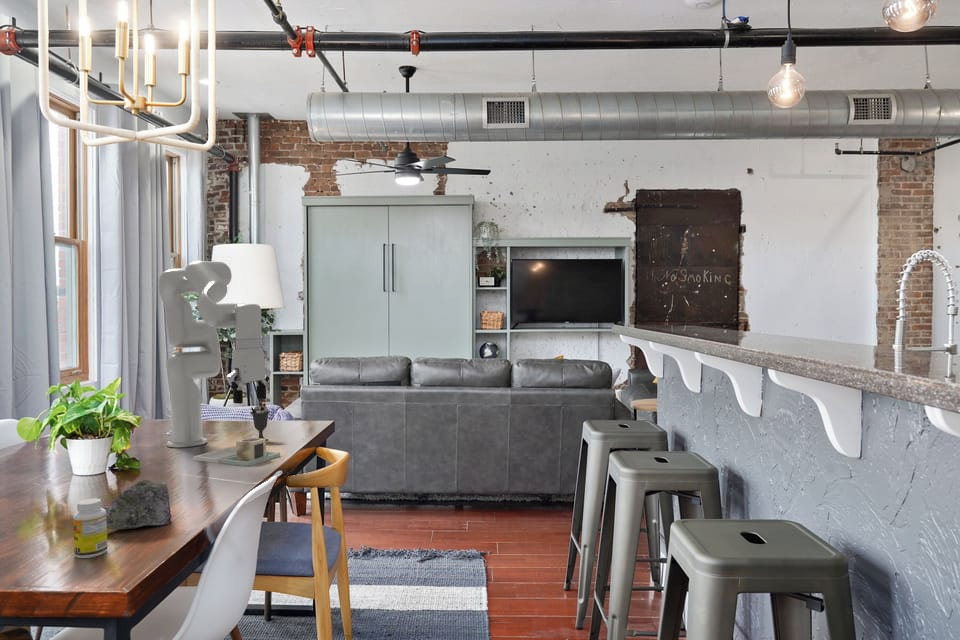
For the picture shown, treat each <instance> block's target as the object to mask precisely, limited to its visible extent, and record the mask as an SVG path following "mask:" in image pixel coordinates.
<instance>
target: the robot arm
mask: <svg viewBox="0 0 960 640" xmlns="http://www.w3.org/2000/svg"><path fill="white" fill-rule="evenodd" d="M231 282H232V270H231V268H230V266H228V265H227V263H225V262H222V261H213V260H210V261H208V260H195V261H192V262H190V263H189V264H187V265H186V267H185V268H171V269H168V270H165V271H163V272H162V273H161V274H160V275H159V278H158V292H159V296H160V298H161V301H162V303H163V307H164V309H165V319H166V327H167V337H168V341H169V344H170V346H171V347H173V348H175V349H194V348H196V349H198V348H200V350H199V351H194V350H193V351H182V352H176V353H173V354H172V355H170V356H169V357H168V358H167V361H166V371H167V377H168V381H169V389H170V415H171V416H170V419H171V420H170V421H171V423H170V424H171V430H169V431H168V432H166V433H165V437H167V438H169V440H168V441H166V445H167V447H169V448H191V447H198V446H202V445H205V444H206V443H207V441H208V439H207V438H206V437H203V429H202V427H203V426H202V424H203V423H202V392H201V390H200V388H199V385H197V384H196V382H195V381H194V380H197V379H198V380H199V379H208V378H209V379H210V378H214V377H216V376H218V375H219V374H220V371H221V365H222V363H221V353H220V344H219V343H220V342H219V335H218V330H217V329H229V328H231V329H232V328H233V329H234V332H235V333H234V335H235V336H234V337H235V349H234V350H233V352H232V357H231V371H230V373H229V374H227V376H226V377H225V378H226V381H227V383H228V386H229V387H230V389H231V391H232V397H233V398H232V400H233V401H232V402H233V404H238V405H240V404H241V405H242V404H243V403H244V399H243V398H244V397H243V395H244V393H243V389H242V388H243V386H244V384H248V383H255V382H256V384H257V386H256V399H258V400H263V399H265V400H267V386H268V382H269V381H270V377H271V374H272V370H270V369H268V368H266V362H265V361H266V360H265V354H264V349H263V344H264V343H263V340H262V308H261V306H260V305H259V304H257V303H230V302H229V303H227V302H226V303H219V302H221V301H222V300H224V298H226V295H227V293H228V286H229V284H230V283H231ZM183 294H184V295H187V294H189V295H191V294H193V295H197V294H198V295H199V296H198V298H197V311H198V313H199V314H198V315H200V317H201V320H200V319H199V320H198V319H197V320H195V317H194V314H193V307H192V304H191V303H190V302H189V300H188V299H187V298H186V297H185V296H184V295H183Z"/></svg>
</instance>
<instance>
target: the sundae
mask: <svg viewBox="0 0 960 640" xmlns="http://www.w3.org/2000/svg"><path fill="white" fill-rule="evenodd" d="M261 400H262V401H259V402H258V403H257V404H256V405H255V406H254V408H253V407H252V406H251V408H250V409H251V410H250V415H252V419H253V426H254V428H255V429H256V430H257V432H258V437H257V438H261V439H266V442H268V441H269V439H268V438H265V437H264V434H263V433H264V430H266V428H267V426H268V419H269V414H270V413H271V411H270V410H269V408H268V407H267V404H266V401H265V400H266V399H261Z"/></svg>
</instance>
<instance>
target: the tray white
mask: <svg viewBox="0 0 960 640" xmlns="http://www.w3.org/2000/svg"><path fill="white" fill-rule="evenodd" d="M236 455H237V454H236V447H229V446H228V447H224V448H220V449H217V450H213V451H209V452H206V453H202V454H197V455H195V456H194V455H193V461H197V462H207V463H214V464H220V463H222V461H221V460H222V459H226V458H229V457H233V456H236Z"/></svg>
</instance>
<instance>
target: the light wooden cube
mask: <svg viewBox="0 0 960 640" xmlns="http://www.w3.org/2000/svg"><path fill="white" fill-rule="evenodd" d="M266 439H267V438H265V439H261V438H258V437H247V438H244V439H239V440H236V441H235V446H236V447H235V448H236V454H237V461H245V462H248V461H251V460H254V459H258V458H261V457H264V456H266V451H267V441H266Z"/></svg>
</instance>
